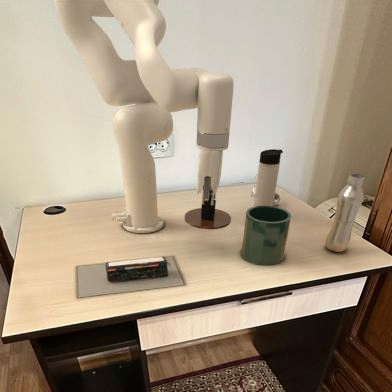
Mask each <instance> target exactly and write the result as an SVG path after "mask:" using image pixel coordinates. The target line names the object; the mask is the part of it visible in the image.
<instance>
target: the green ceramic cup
mask: <svg viewBox="0 0 392 392" xmlns="http://www.w3.org/2000/svg"><path fill="white" fill-rule="evenodd" d="M291 222H292V213H291V212H289V211H288V210H287V209H285V208H282V207H279V206H255V207H254V206H252V207H249V208H248V209H247V210H246V211H245V216H244V227H243V234H242V244H241V257H242V258H243V259H244V260H245V261H247V262H250V263H251V264H255V265H259V266H260V265H261V266H272V265H276V264H278V263H280V262H282V261H283V259H284V257H285V254H286V253H285V252H286V248H287V242H288V237H289V233H290V232H289V231H290V228H291V227H290V226H291Z"/></svg>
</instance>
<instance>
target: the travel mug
mask: <svg viewBox="0 0 392 392" xmlns="http://www.w3.org/2000/svg"><path fill="white" fill-rule="evenodd" d="M283 153H284V151H283V149H280V148H279V149H275V148H274V149H273V148H271V149H265V150H262V151H260V153H259V154H260V155H259V161H258V168H257V174H256V175H257V177H256V183H255V185H256V191H255V195H254V200H253V207H255V206H273V203H274V197H275V193H276V190H277V183H278V179H279V178H278V177H279V171H280V165H281V156H282V154H283Z"/></svg>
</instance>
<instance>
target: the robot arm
mask: <svg viewBox="0 0 392 392" xmlns="http://www.w3.org/2000/svg"><path fill="white" fill-rule="evenodd" d="M159 2H160V0H53V3H54V7H55V11H56V14H57V17H58V20H59V22H60V24H61V26H62V29H63V31H64V32H65V34H66V35H67V38H68V39H69V40H70V42H71V43H72V45H73V46H74V48H75V50H76V51H77V52H78V54H79V56H80V57H81V59H82V61H83V64H84V66H85V67H86V69H87V71H88V74H89V75H90V77H91V79H92V82H93V83H94V85H95V87H96V89H97V91H98V92H99V95H100V96H101V98H102V99H103V101H104V102H105V103H106V104H107V105H108V106H110V107H122V108H121V109H119V110H118V111H117V112H116V113H115V115H114V117H113V120H112V130H113V133H114V137H115V141H116V144H117V148H118V153H119V159H120V166H121V174H122V182H123V183H122V184H123V191H124V192H123V193H124V201H125V208H124V211H122V212H119V213H118V212H113V213H112V212H111V218H112V221H116V222H117V223H122V227H123V228H124V230H126V231H128V232H130V233H133V234H134V233H135V234H149V233H153V232H154V233H155V232H157V231H159V230H160V229H162V228H163V226H164V220H163V219H162V217H160V216H159V212H158V211H159V210H158V209H159V208H158V192H157V171H156V163H155V159H154V157H153V154H152V153H151V151H150V148H149V146H150V145H154V144H157V143H161V142H164V141H166V140H168V139H169V138H170V137H171V135H172V133H173V130H174V120H173V115H172V113H177V112H182V111H186V110H194V109H197V117H196V118H197V121H196V145H195V146H196V148H198V149H199V154H198V164H197V176H196V190H195V191H196V193H197V194H200V193H202V199H201V205H200V206H201V207H200V208H201V219H202V220H211V221H212V220H213V215H215V209H216V204H217V199H216V197H217V196H216V195H217V191H218V188H219V186H220V182H221V175H222V168H223V156H224V155H223V154H224V151H226V150H227V149H228V150H229V143H230V131H231V121H232V120H231V119H232V109H233V97H234V78H233V77H232V76H231V75H230V74H228V73H224V72H210V71H208V70H205V69H203V68H198V67H185V68H174V69H173V68H171V67H170V66H169V64H168V63H167V62H166V60H165V59H164V57H163V56H162V54H161V53H160V51H159V49H158V47H159V45H160V44H161V43H162V41H163V39H164V36H165V34H166V30H167V22H166V18H165V16H164V14H163V12H162V11H161V10H160V9H159V7H158V5H159ZM94 17H95V18H115V20H116V22H117V23H118V24H119V25H120V27H121V29H122V30H123V32H124V33H125V34H126V35H127V38H128V39H129V40H130V42H131V43H132V45H133V46H134V47H135V51H134V52H135V54H134V55H135V59H126V60H125V59H123V58H121V57H120V55H119V53H118V52H117V50H116V49H115V46H114V43H113V41H112V40H111V38H110V37H109V35H108V34H107V32H106V31H105V30H104V29H103V28H102V27H101V26H100V25H99V24H98V23H97V22H96V21H95V20H94ZM123 106H124V107H123ZM213 200H214V205H213Z"/></svg>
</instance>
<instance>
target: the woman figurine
mask: <svg viewBox="0 0 392 392" xmlns="http://www.w3.org/2000/svg"><path fill="white" fill-rule="evenodd" d="M255 191H256V184H255V185H254V186H253V188H252V194H250V195H249V196H248V197H249V198H252V197H253V196H255ZM280 202H281V197H280V195H279V192H275V197H274V203H273V206H274V207H277V206H278V205H279V204H280Z"/></svg>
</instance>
